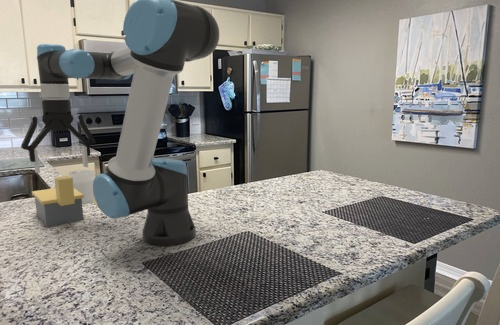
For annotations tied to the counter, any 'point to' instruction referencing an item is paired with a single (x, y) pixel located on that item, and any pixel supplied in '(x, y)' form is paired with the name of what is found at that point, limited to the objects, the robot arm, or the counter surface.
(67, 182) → the lid
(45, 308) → the counter surface
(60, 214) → the tub
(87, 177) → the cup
